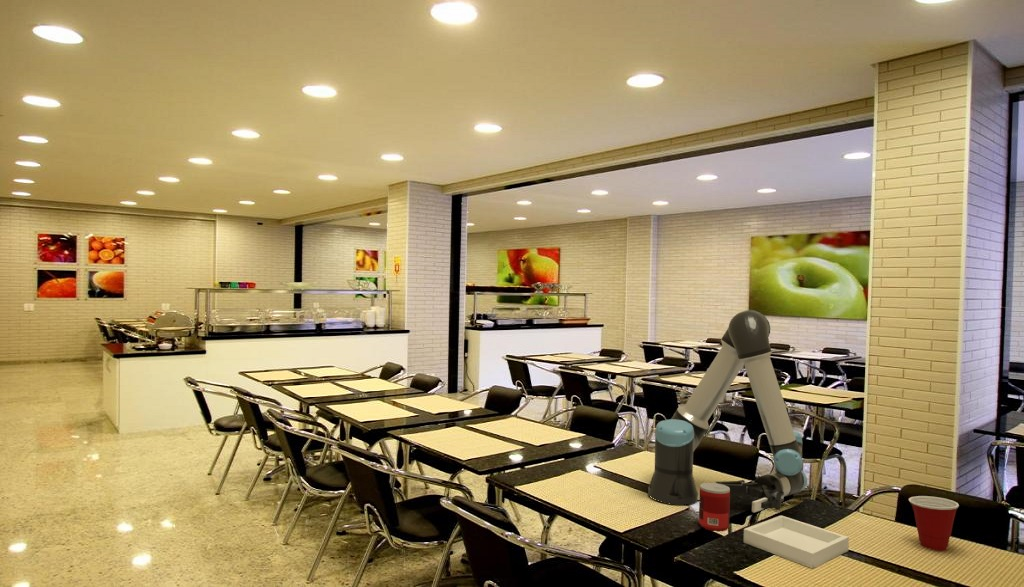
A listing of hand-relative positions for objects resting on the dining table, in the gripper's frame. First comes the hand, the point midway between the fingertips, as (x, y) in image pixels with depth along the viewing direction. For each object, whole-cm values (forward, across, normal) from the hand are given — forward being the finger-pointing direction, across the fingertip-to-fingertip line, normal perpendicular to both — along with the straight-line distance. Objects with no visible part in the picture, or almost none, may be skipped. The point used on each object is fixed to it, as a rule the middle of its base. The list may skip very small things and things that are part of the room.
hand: (730, 500), depth 172 cm
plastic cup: (-30, -40, -7) cm, 50 cm away
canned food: (+6, +1, -7) cm, 9 cm away
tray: (+1, -19, -6) cm, 20 cm away
